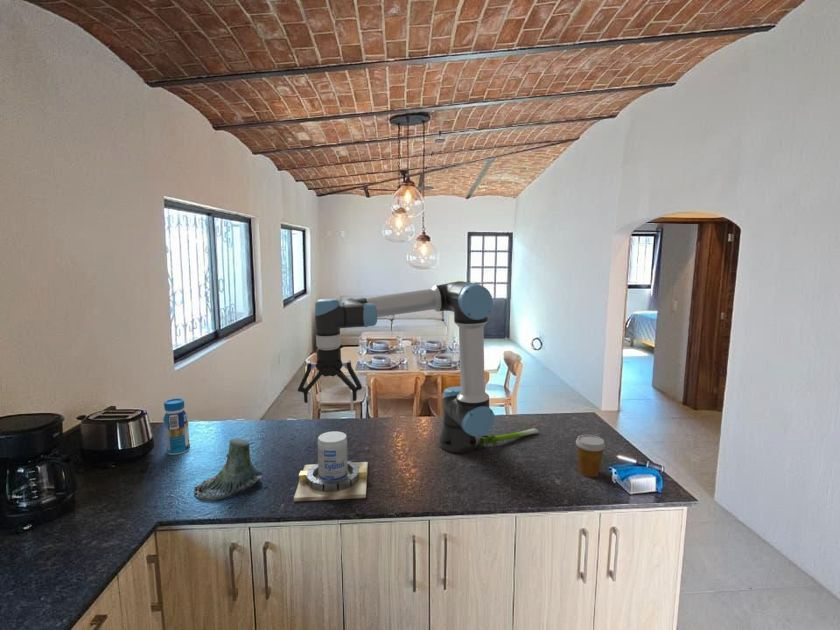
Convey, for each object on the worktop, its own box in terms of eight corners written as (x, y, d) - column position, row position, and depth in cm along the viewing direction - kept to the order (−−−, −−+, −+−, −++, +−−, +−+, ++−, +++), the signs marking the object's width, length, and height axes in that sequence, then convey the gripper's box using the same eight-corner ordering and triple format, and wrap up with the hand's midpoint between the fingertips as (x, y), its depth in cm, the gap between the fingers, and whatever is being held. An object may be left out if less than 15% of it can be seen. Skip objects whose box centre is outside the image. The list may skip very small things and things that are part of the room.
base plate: (367, 465, 169) (367, 461, 169) (365, 497, 148) (365, 494, 147) (305, 467, 167) (305, 464, 167) (294, 501, 146) (293, 497, 146)
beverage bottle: (160, 453, 180) (156, 403, 177) (179, 444, 188) (175, 396, 184) (177, 457, 177) (172, 405, 174) (195, 448, 184) (191, 398, 181)
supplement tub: (325, 488, 151) (323, 445, 149) (314, 476, 159) (312, 435, 156) (353, 480, 156) (351, 437, 154) (341, 468, 164) (339, 428, 162)
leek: (541, 440, 194) (485, 452, 178) (528, 437, 200) (473, 448, 184) (540, 425, 194) (485, 436, 178) (528, 422, 200) (473, 432, 184)
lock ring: (367, 465, 167) (366, 458, 166) (365, 490, 150) (365, 482, 149) (304, 468, 165) (303, 461, 164) (295, 493, 148) (295, 486, 148)
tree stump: (199, 478, 162) (210, 427, 161) (260, 484, 167) (270, 435, 166) (187, 504, 144) (198, 447, 143) (255, 510, 149) (266, 455, 148)
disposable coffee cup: (603, 468, 165) (604, 436, 164) (604, 481, 157) (606, 447, 155) (574, 464, 169) (576, 432, 167) (574, 477, 160) (575, 443, 158)
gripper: (368, 343, 155) (369, 405, 159) (290, 345, 153) (294, 408, 157) (367, 348, 148) (369, 413, 151) (286, 351, 146) (289, 416, 149)
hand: (331, 411), depth 154 cm, fingers open, 13 cm apart
